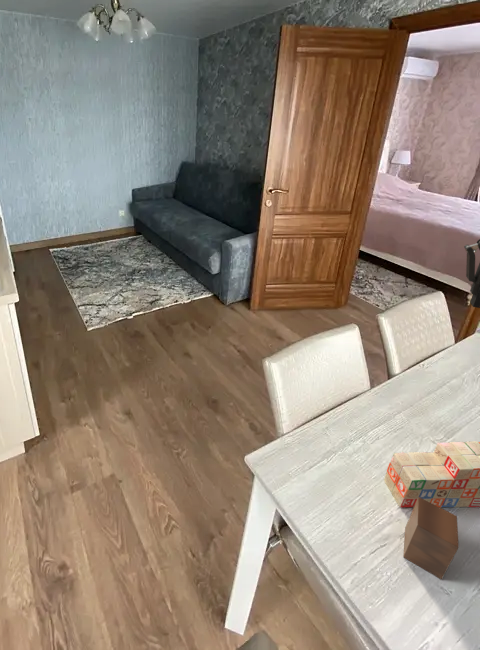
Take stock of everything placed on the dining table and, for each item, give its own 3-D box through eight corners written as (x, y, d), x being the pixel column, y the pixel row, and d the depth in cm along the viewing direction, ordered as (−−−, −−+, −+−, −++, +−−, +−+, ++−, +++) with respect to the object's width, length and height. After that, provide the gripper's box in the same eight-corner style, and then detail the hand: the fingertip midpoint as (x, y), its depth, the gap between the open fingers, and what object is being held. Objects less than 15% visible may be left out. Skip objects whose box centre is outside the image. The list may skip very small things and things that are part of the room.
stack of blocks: (399, 509, 74) (415, 470, 69) (382, 479, 80) (396, 442, 75) (496, 507, 74) (518, 468, 70) (473, 478, 80) (491, 440, 76)
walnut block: (440, 547, 67) (456, 515, 64) (441, 580, 63) (459, 547, 59) (405, 528, 71) (418, 496, 67) (403, 557, 66) (417, 525, 62)
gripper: (533, 223, 87) (499, 303, 96) (469, 216, 92) (443, 293, 101) (547, 232, 81) (510, 317, 90) (478, 225, 86) (449, 306, 95)
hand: (474, 304), depth 95 cm, fingers closed
